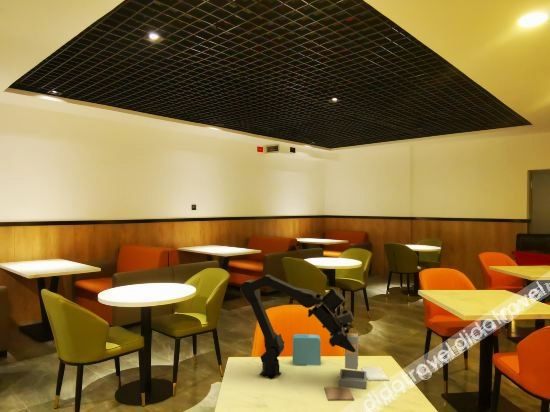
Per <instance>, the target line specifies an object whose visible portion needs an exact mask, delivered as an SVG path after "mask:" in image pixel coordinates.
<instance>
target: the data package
mask: <svg viewBox="0 0 550 412" xmlns="http://www.w3.org/2000/svg"><path fill="white" fill-rule="evenodd" d="M321 344H322V342H321V337H320V335H319V334H307V333H306V334H304V333H303V334H301V333H300V334H299V333H298V334H296V333H295V334H294V335H293V337H292V363H293V365H294V366H306V367H307V366H320V365H321V361H322V359H321V358H322V355H321V353H322V347H321V346H322V345H321Z"/></svg>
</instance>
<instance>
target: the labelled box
mask: <svg viewBox="0 0 550 412" xmlns="http://www.w3.org/2000/svg"><path fill="white" fill-rule="evenodd" d="M347 338H348V340H349V341H350V343H351V344H352V346H353V347H354V349H355V350H356V351H355V352H354V353H353V352H351V351H349V350H347V349H344V369H347V370H357V371H358V367H359V333H354V332H349V333H347Z"/></svg>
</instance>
